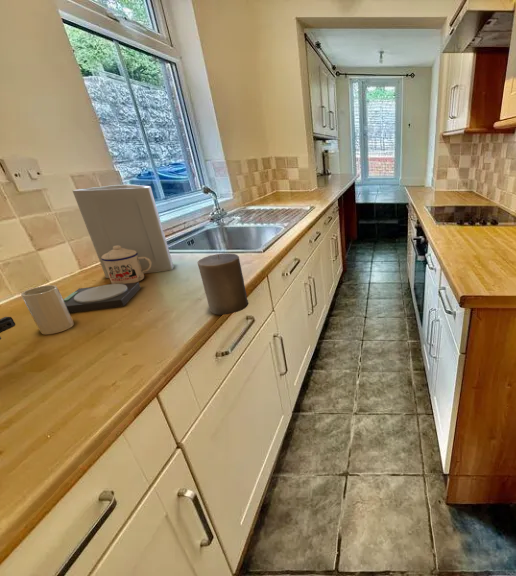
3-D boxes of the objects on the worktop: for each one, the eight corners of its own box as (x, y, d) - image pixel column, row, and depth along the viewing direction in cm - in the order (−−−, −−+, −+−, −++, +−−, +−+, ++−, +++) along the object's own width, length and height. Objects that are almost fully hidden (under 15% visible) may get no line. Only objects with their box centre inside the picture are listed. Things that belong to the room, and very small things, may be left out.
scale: (55, 314, 82) (51, 306, 81) (81, 294, 94) (78, 286, 93) (123, 306, 87) (120, 298, 86) (140, 288, 98) (138, 280, 97)
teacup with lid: (107, 288, 98) (93, 251, 93) (115, 278, 106) (102, 244, 101) (153, 281, 103) (142, 246, 98) (157, 272, 110) (147, 239, 105)
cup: (34, 336, 73) (14, 297, 69) (50, 324, 78) (31, 286, 74) (65, 332, 75) (47, 293, 71) (78, 320, 80) (62, 283, 76)
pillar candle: (256, 302, 89) (246, 250, 83) (229, 318, 80) (216, 262, 74) (229, 296, 92) (218, 246, 86) (200, 311, 84) (186, 257, 78)
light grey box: (177, 257, 125) (156, 183, 114) (172, 269, 113) (148, 187, 101) (117, 264, 118) (88, 185, 106) (105, 278, 105) (71, 191, 94)
